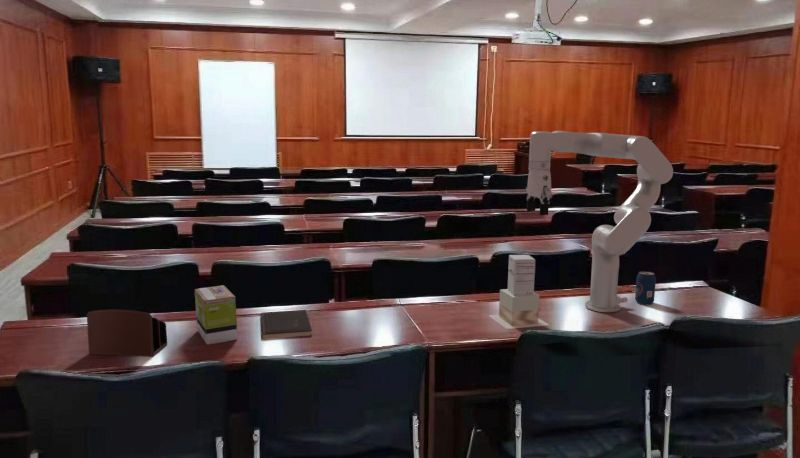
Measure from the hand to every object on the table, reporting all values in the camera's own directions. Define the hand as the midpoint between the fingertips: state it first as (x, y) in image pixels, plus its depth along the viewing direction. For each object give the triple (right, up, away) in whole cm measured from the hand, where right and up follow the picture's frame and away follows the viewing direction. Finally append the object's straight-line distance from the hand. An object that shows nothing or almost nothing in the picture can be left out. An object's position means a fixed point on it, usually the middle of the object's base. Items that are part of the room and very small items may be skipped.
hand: (537, 212), depth 226 cm
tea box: (-110, -41, -25) cm, 120 cm away
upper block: (-9, -33, -12) cm, 36 cm away
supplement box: (-9, -28, -13) cm, 32 cm away
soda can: (+45, -35, +15) cm, 59 cm away
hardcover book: (-89, -40, -15) cm, 99 cm away
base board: (-9, -39, -10) cm, 41 cm away
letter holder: (-132, -43, -38) cm, 144 cm away
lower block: (-9, -38, -11) cm, 40 cm away
